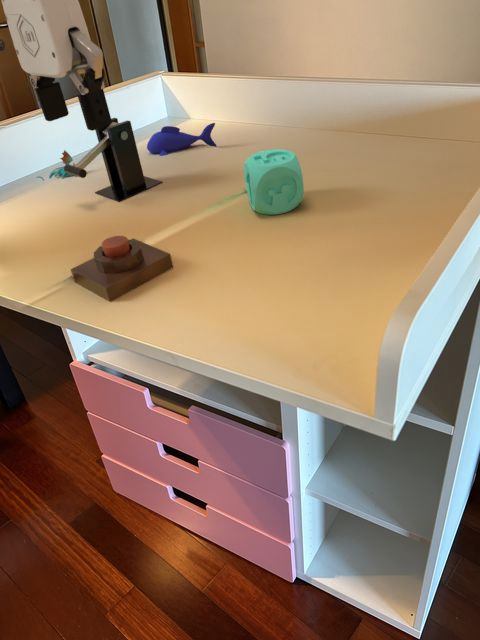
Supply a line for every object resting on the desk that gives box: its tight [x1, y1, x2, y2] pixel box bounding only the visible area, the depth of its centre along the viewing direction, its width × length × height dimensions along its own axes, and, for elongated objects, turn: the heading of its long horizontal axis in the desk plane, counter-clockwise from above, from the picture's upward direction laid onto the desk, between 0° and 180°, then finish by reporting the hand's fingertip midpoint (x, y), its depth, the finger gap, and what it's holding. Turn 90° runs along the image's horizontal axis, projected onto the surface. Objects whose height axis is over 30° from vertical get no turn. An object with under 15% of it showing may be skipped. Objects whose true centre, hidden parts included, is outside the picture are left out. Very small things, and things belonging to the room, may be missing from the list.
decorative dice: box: [243, 148, 305, 216], centre depth 92 cm, size 8×8×8 cm
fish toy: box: [146, 122, 217, 157], centre depth 118 cm, size 15×8×7 cm, turn 100°
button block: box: [70, 237, 174, 303], centre depth 80 cm, size 11×9×4 cm
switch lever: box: [64, 122, 119, 179], centre depth 98 cm, size 12×5×2 cm, turn 136°
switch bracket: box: [94, 117, 164, 203], centre depth 102 cm, size 10×8×13 cm
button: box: [101, 235, 130, 258], centre depth 78 cm, size 4×4×2 cm
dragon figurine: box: [35, 149, 79, 182], centre depth 114 cm, size 7×7×8 cm
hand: (78, 122), depth 70 cm, fingers open, 9 cm apart
